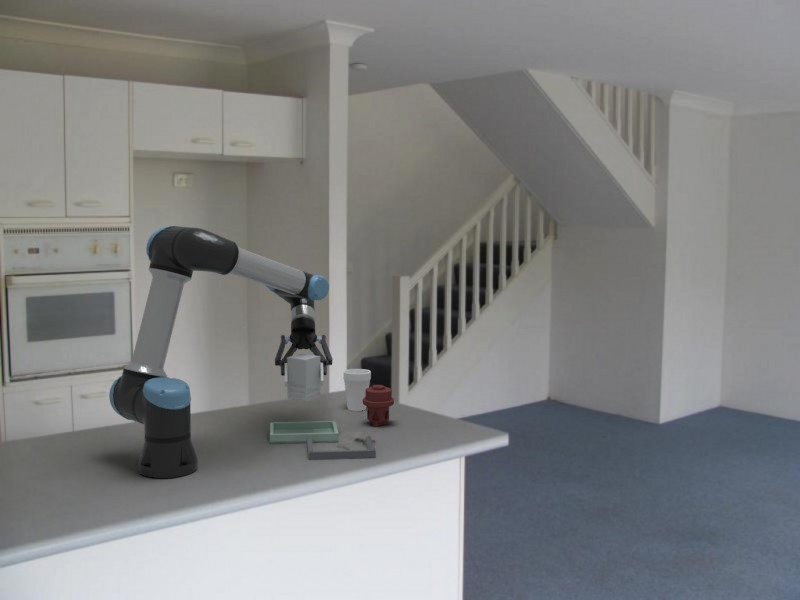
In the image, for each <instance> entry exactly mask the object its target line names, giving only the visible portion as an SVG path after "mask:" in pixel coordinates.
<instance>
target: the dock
mask: <svg viewBox="0 0 800 600" xmlns="http://www.w3.org/2000/svg"><path fill="white" fill-rule="evenodd" d="M365 444H366V447H367V449H343V450H342V449H341V450H340V449H339V450H314V448H313V443H312V438H307V443H306V445H307V446H306V447H307V454H308V460H309V459H314V460H338V459H339V458H349V459H370V458H369V457H376V453H377V451H376V448H375V445H374V442H373V441H372V438H371V436H370V435H366V436H365ZM363 457H365V458H363ZM339 460H340V459H339Z"/></svg>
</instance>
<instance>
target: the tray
mask: <svg viewBox="0 0 800 600" xmlns="http://www.w3.org/2000/svg"><path fill="white" fill-rule="evenodd" d="M269 424H270V425H269V444H270V445H271V444H272V445H273V444H277V445H278V444H279V445H280V444H305V443H306V444H307V438H312V444H313V443H314V444H315V443H317V442H318V443H339V431H338V426H337V422H336V420H324V421H319V420H317V421H285V422H284V421H274V422H270V423H269ZM318 443H317V444H318Z"/></svg>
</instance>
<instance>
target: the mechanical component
mask: <svg viewBox="0 0 800 600" xmlns="http://www.w3.org/2000/svg"><path fill="white" fill-rule="evenodd" d="M392 392H393V391H392V389H391V388H390V387H386V386H385V385H383V384H373V385H372V386H369V388H367V389H365V397H364V398H363V404H364V405H365V406H366V413H367V416H366V418H367V420H368V421H369V423H371V424H373V426H374V427H376V426H377V427H379V426H382V425H387V424H389V420H390V407H392V406H393V405H394V404H395V399H394V398H393V397H392ZM381 424H382V425H381Z"/></svg>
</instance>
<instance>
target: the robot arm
mask: <svg viewBox="0 0 800 600" xmlns="http://www.w3.org/2000/svg"><path fill="white" fill-rule="evenodd" d="M145 250H146V255H147V257H148V261H150V262H149V267H148V271H149V273H150V275H151V276H152V279H151V283H150V287H149V290H148V294H147V298H146V303H145V306H144V309H143V310H144V311H143V315H142V319H141V323H140V326H139V330H138V333H137V339H136V342H135V346H134V350H133V354H132V358H131V362H129V363H128V364H127V365H125V366H124V367H123V370H122V373H121V376H119V377H118V378H117V379H116V380H114V381H113V383H112V384H111V387H110V389H109V394H108V395H109V403H110V406H111V408H112V409H113V410H114V412H115V413H116V414H117V415H119V416H121V417H122V418H124V419H126V420H128V421H132V422H133V421H134V422H137V423H139V424H142V425H144V427H143V429H144V433H143V434H144V443H143V446H142V449H141V452H140V453H141V454H139V458H138V462H137V472H138V474H139V473H140V474H139V475H141V474H142V475H141V476H143V475H144V476H143V477H146V476H148V477H147V478H151V477H154V478H153V479H171V478H179V477H184V476H187V475H190V474H192V472H193V473H195V472H196V471H197V470H198V469H199V458H198V455H197V453H196V450H195V447H194V444H193V442H192V438H191V437H192V433H191V432H192V431H191V430H192V429H191V428H192V427H191V425H192V424H191V423H192V422H191V419H192V418H191V402H192V396H191V389H190V386H189V385H188V383H187V382H186V381H184V380H181V379H180V378H179V379H178V378H175V377H172V378H171V377H168V375H167V373H166V371H165V370H164V369H165V368H164V366H165V363H166V358H167V357H168V356H167V355H168V352H169V347H170V343H171V340H172V339H171V338H172V335H173V331H174V327H175V323H176V319H177V315H178V310H179V305H180V302H181V297H182V294H183V290H184V286H185V284H186V283H188V282H189V281H191V280H192V277H193V274H194V271H195V272H209V273H215V274H218V275H221V276H227V275H229V274H230V275H233V276H237V277H239V278H243V279H245V280H248V281H252V282H254V283H258V284H261V285H264V286H265V288H267V289H268V290H269V291H270V292H272V293H273V294H275V295H277V296H278V297H280V298H281V299H282V300H284V301H285V302H286V303H288V304H289V305H290V335H289V336H285V334H281V335H280V344H279V346H278V349H277V352H276V355H275V358H274V365H275V366H276V367H277V366H279V367H280V375H281V376H284V387H287V357H291V356H294V354H295V353H296V351H297V350H309V351H311V353H312V355H315V356H320V387H323V386H324V376H327V373H328V366H332V365H333V357H332V354H331V352H330V349H329V346H328V343H327V341H326V340H327V336H326V334H322V335H321V336H320V335H318V336H317V334H316V312H315V301H322V300H323V299H325V298H326V297H327V296H328V293H329V290H330V284H329V281H328V279H327V278H326V277H325V276H323V275H319V274H318V273H317V274H313V273H310V272H306V271H303V270H301V269H298V268H295V267H293V266H291V265H288V264H285V263H282V262H279V261H277V260H274V259H271V258H268V257H267V256H264V255H263V256H262V255H260V254H258V253H255V252H252V251H251V250H247V249H244V248H241V247H239V245H238V244H237V243H236V242H235V241H234V240H230V239H228V238H225V237H223V236H221V235H218V234H216V233H215V232H212V231H209V230H206V229H204V228H200V227H187V226H179V225H177V226H176V225H170V226H163V227H160V228H158V229H157V230H155V231H154V232H152V234H151V235H150V236H149V238H148V240H147V243H146V249H145ZM288 342H290V343H291V345H290V347H289V348H288V350H287V351H286V353H285V355H284V356H283V354H284V350H285V348H286V345H287V344H288ZM316 342H318V343H319V344H320V345H321V346H320V347H321V348H322V351H323V353H324V355H323V354H322V352H321V351H320V349H319V347H318V346H317V345H316Z"/></svg>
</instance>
